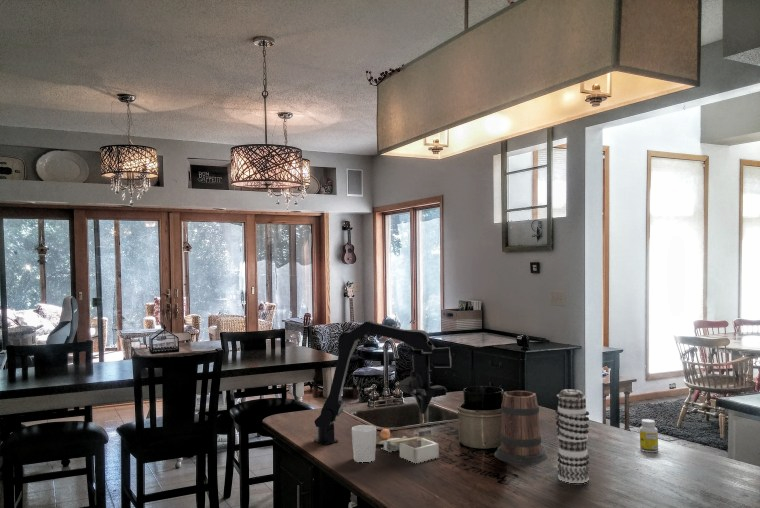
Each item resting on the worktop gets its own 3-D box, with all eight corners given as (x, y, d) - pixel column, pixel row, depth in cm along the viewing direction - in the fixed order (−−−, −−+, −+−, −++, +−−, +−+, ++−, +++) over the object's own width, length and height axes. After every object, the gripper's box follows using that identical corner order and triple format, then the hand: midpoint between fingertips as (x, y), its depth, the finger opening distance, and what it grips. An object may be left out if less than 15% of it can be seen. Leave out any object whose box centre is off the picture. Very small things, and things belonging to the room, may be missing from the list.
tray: (399, 457, 188) (399, 443, 189) (422, 451, 194) (422, 438, 194) (415, 463, 182) (415, 449, 182) (438, 457, 187) (438, 443, 188)
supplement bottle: (639, 447, 195) (638, 417, 196) (657, 448, 194) (656, 419, 194) (640, 452, 190) (640, 421, 191) (659, 453, 188) (658, 423, 189)
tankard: (545, 466, 178) (544, 400, 178) (489, 460, 184) (488, 396, 184) (552, 444, 200) (551, 385, 200) (502, 440, 206) (501, 382, 206)
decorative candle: (587, 486, 161) (585, 395, 162) (553, 481, 166) (551, 392, 166) (593, 476, 169) (591, 389, 170) (560, 471, 174) (558, 386, 174)
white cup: (373, 464, 182) (373, 432, 182) (349, 463, 184) (348, 431, 184) (379, 456, 190) (378, 425, 190) (355, 455, 191) (354, 424, 192)
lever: (375, 444, 203) (374, 436, 203) (409, 436, 211) (408, 429, 212) (402, 445, 190) (401, 437, 190) (438, 436, 199) (436, 429, 199)
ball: (378, 440, 203) (377, 430, 204) (387, 438, 205) (385, 428, 206) (384, 440, 200) (383, 429, 201) (392, 438, 202) (391, 428, 203)
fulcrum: (380, 448, 198) (380, 439, 198) (402, 443, 203) (401, 434, 203) (389, 452, 193) (389, 442, 194) (411, 447, 199) (410, 437, 199)
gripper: (386, 367, 203) (387, 413, 203) (420, 374, 188) (422, 423, 188) (411, 363, 210) (413, 407, 209) (446, 369, 195) (448, 417, 194)
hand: (423, 413), depth 200 cm, fingers closed
